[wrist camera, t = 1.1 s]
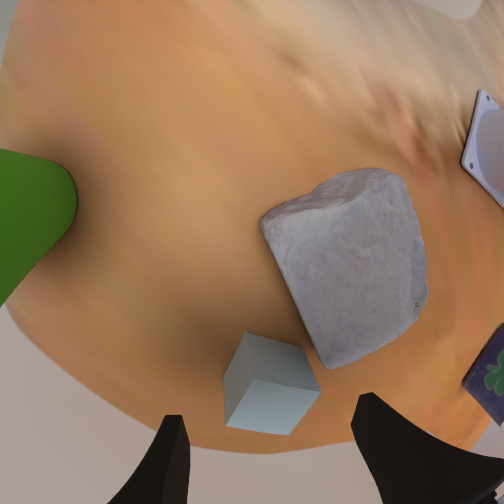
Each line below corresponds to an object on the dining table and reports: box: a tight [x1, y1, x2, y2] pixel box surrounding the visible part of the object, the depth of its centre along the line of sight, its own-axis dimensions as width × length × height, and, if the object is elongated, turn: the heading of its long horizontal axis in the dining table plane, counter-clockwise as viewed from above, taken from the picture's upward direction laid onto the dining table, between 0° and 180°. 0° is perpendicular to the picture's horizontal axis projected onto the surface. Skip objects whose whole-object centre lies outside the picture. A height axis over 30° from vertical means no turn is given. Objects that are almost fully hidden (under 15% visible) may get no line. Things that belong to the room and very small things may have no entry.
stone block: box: [260, 168, 429, 370], centre depth 18 cm, size 12×5×10 cm
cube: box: [223, 332, 322, 435], centre depth 18 cm, size 4×4×5 cm
